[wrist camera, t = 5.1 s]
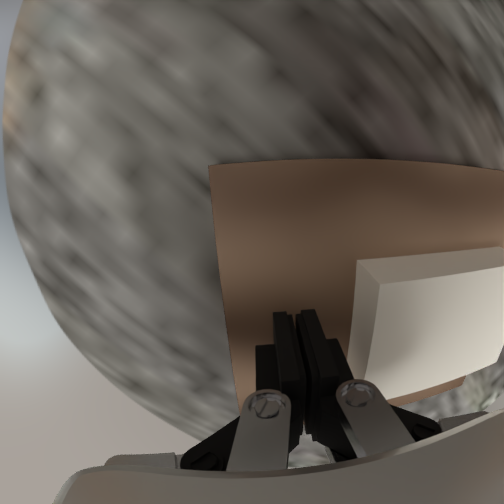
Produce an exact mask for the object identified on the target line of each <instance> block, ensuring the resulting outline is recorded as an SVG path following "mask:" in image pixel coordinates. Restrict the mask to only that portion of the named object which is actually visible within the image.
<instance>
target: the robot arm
mask: <svg viewBox="0 0 504 504" xmlns="http://www.w3.org/2000/svg"><path fill="white" fill-rule="evenodd" d="M273 340H274V344H266V345H255V364H256V391H255V392H254V393H252V394H250V395H249V396H248V397H247V398H246V399H245V401H244V403H243V407H242V411H241V415H240V416H239V417H237V418H236V419H235V420H233V421H232V422H230V423H229V424H227V425H226V426H225V427H223V428H222V429H220V430H219V431H217V432H216V433H214V434H213V435H211V436H210V437H208V438H207V439H205V440H203V441H202V442H200V443H199V444H197V445H196V446H194V447H192V448H191V449H189V450H188V451H187V452H186V453H184V454H182V455H175V453H160V454H141V455H116V456H113V457H112V458H109V459H108V460H107V462H106V463H105V465H104V466H97V467H91V468H87V469H83V470H80V471H78V472H76V473H75V474H73V475H72V476H71V477H70V478H69V479H68V480H67V481H66V482H65V484H64V485H63V486H62V488H61V490H60V491H59V493H58V494H57V496H56V498H55V500H54V503H53V504H504V409H500V410H496V411H494V412H491V413H488V412H485V411H481V412H475V413H470V414H465V415H460V416H455V417H449V418H442V419H439V421H438V422H435V421H434V420H432V419H430V418H427V417H424V416H421V415H418V414H415V413H412V412H410V411H407V410H404V409H401V408H399V407H396V406H393V405H391V404H389V403H388V402H387V400H386V399H385V397H384V396H383V395H382V393H381V392H380V390H379V389H378V388H377V387H376V386H375V385H374V384H373V383H371V382H369V381H366V380H363V379H354V377H353V374H352V372H351V369H350V367H349V365H348V362H347V360H346V357H345V355H344V353H343V350H342V348H341V346H340V343H339V341H338V339H337V338H333V339H326V337H325V334H324V332H323V329H322V326H321V324H320V321H319V319H318V316H317V313H316V311H315V309H307V310H301V312H300V314H296V322H295V325H294V321H293V317H292V314H289V315H287V312H286V311H281V312H273ZM303 421H304V425H305V431H306V434H311V435H312V440H313V441H317V442H319V443H321V444H322V445H324V446H325V451H326V454H327V456H328V459H329V461H330V463H331V464H325V465H318V466H311V467H303V468H293V469H288V459H289V453H290V452H291V451H292V450H293V449H294V448H295V447H296V446H297V445H298V444H299V438H300V435H302V432H303Z"/></svg>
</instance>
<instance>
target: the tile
mask: <svg viewBox="0 0 504 504" xmlns="http://www.w3.org/2000/svg"><path fill="white" fill-rule="evenodd" d="M503 345H504V249H503V248H501V247H490V248H480V249H471V250H461V251H451V252H441V253H430V254H420V255H409V256H398V257H387V258H375V259H363V260H357V265H356V281H355V294H354V305H353V316H352V325H351V334H350V342H349V349H348V356H347V362H348V365H349V367H350V369H351V372H352V374H353V377H354V379H363V380H366V381H369V382H371V383H373V384H374V385H375V386H376V387H377V388H378V389H379V390H380V392H381V393H382V395H383V396H384V397H385V399H386V400H388V399H392V398H396V397H400V396H403V395H407V394H411V393H414V392H418V391H421V390H424V389H427V388H431V387H434V386H437V385H440V384H443V383H446V382H448V381H451V380H454V379H457V378H459V377H462V376H465V375H467V374H470V373H472V372H475V371H477V370H479V369H482V368H484V367H486V366H489V365H491V364H493V363H495V362H497V359H498V357H499V355H500V352H501V350H502V347H503Z"/></svg>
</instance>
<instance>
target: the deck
mask: <svg viewBox="0 0 504 504" xmlns="http://www.w3.org/2000/svg"><path fill="white" fill-rule="evenodd" d="M208 169H209V180H210V190H211V201H212V211H213V220H214V230H215V239H216V248H217V257H218V265H219V273H220V282H221V290H222V297H223V305H224V312H225V320H226V327H227V334H228V341H229V348H230V355H231V362H232V368H233V375H234V381H235V387H236V394H237V400H238V406H239V412H240V415H241V411H242V407H243V403H244V401H245V399H246V398H247V397H248V396H249V395H250V394H252V393H254V392H255V391H256V364H255V345H266V344H274V340H273V312H281V311H286V312H287V315H289V314H292V317H293V321H294V325H295V322H296V314H300V312H301V310H307V309H315V311H316V313H317V316H318V319H319V321H320V324H321V326H322V329H323V332H324V334H325V337H326V339H333V338H337V339H338V341H339V343H340V346H341V348H342V350H343V353H344V355H345V357H346V360H347V356H348V349H349V342H350V334H351V325H352V316H353V305H354V294H355V281H356V265H357V260H363V259H375V258H387V257H398V256H409V255H420V254H430V253H441V252H451V251H461V250H471V249H480V248H490V247H501V248H503V249H504V171H498V170H492V169H485V168H478V167H471V166H463V165H454V164H444V163H433V162H421V161H405V160H385V159H293V160H272V161H255V162H242V163H230V164H219V165H210V166H208ZM465 377H466V375H465V376H462V377H459V378H457V379H454V380H451V381H448V382H446V383H443V384H440V385H437V386H434V387H431V388H427V389H424V390H421V391H418V392H414V393H411V394H407V395H403V396H400V397H396V398H392V399H388V400H387V402H388V403H389V404H391V405H393V406H396V407H397V406H401V405H404V404H408V403H411V402H415V401H418V400H421V399H424V398H428V397H431V396H434V395H437V394H439V393H442V392H445V391H448V390H450V389H453V388H456V387H458V386H461V385H462V383H463V381H464V379H465ZM303 424H304V421H303Z"/></svg>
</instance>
